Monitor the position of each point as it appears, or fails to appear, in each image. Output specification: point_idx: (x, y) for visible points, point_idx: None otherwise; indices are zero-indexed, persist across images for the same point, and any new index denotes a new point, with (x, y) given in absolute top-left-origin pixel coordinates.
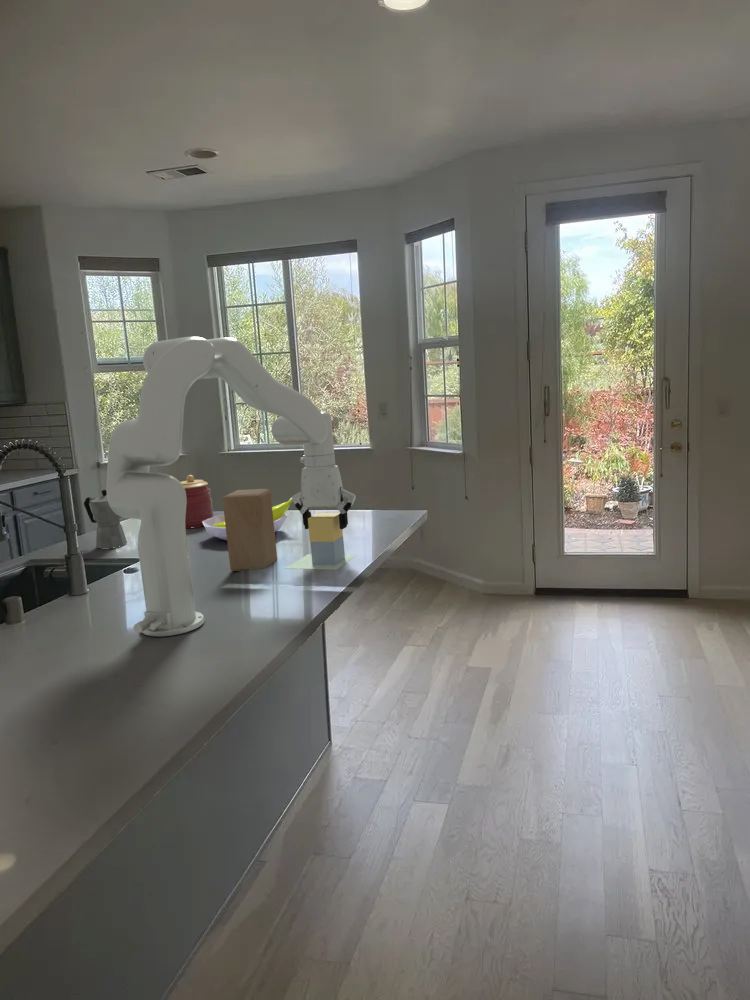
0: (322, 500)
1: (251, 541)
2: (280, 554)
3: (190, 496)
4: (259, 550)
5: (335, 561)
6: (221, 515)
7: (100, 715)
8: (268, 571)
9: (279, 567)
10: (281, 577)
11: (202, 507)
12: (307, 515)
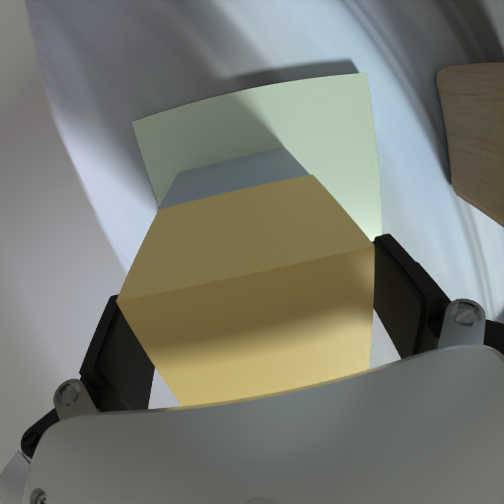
0: (187, 485)
1: None
2: (465, 263)
3: None
4: (494, 69)
5: (175, 178)
6: None
7: None
8: (424, 77)
9: (416, 130)
10: (330, 10)
11: None
12: (412, 315)
